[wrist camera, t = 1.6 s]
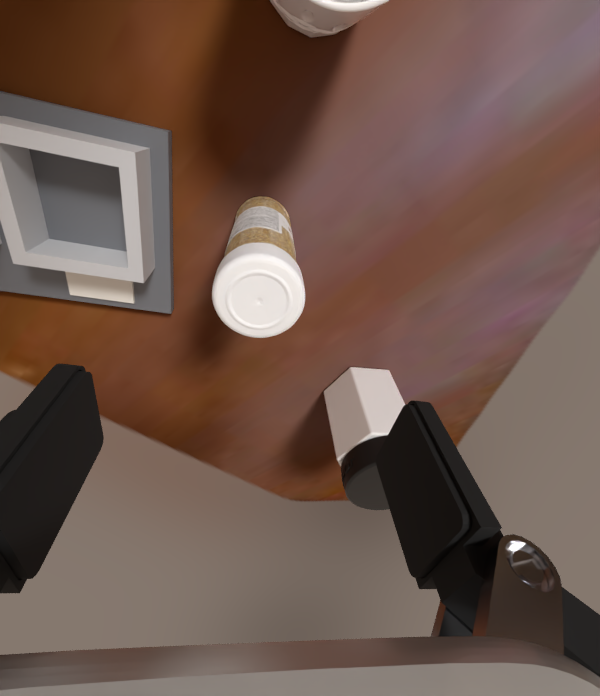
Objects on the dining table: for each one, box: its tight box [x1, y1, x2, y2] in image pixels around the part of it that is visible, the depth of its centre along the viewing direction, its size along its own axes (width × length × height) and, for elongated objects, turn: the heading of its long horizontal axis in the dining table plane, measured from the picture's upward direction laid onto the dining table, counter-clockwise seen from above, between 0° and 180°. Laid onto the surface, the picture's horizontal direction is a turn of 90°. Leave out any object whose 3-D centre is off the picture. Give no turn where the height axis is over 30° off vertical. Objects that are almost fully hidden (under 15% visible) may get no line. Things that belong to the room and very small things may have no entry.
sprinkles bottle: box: [212, 196, 305, 338], centre depth 21 cm, size 5×5×13 cm
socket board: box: [0, 91, 174, 314], centre depth 23 cm, size 14×22×4 cm, turn 78°
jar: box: [324, 367, 405, 510], centre depth 34 cm, size 9×8×12 cm
